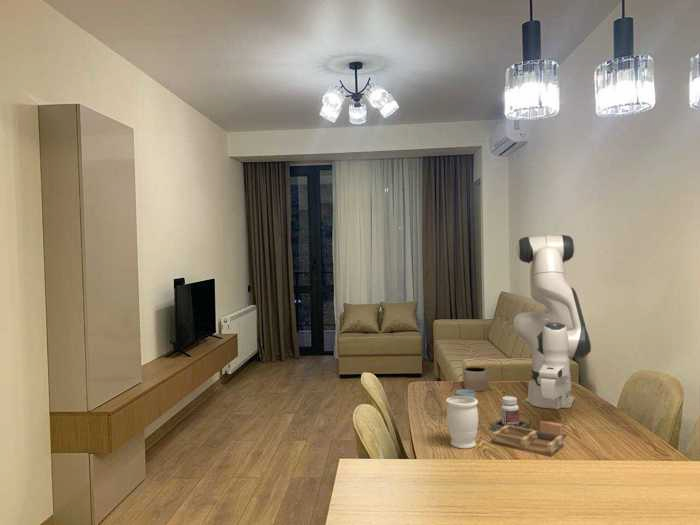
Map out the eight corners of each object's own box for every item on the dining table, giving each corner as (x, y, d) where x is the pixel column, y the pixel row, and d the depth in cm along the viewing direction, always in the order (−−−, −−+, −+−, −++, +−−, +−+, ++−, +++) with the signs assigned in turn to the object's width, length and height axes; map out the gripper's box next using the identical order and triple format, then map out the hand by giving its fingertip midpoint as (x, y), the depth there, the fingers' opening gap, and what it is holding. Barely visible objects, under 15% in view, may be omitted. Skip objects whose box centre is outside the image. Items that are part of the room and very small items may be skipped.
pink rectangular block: (542, 430, 185) (542, 420, 185) (562, 434, 180) (562, 424, 180) (540, 432, 183) (539, 422, 183) (560, 436, 178) (560, 425, 178)
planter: (484, 393, 240) (483, 372, 240) (461, 390, 246) (460, 370, 246) (490, 387, 249) (490, 367, 249) (468, 385, 255) (467, 366, 255)
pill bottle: (523, 429, 188) (522, 398, 188) (511, 433, 185) (510, 401, 185) (509, 425, 194) (508, 394, 194) (498, 428, 190) (497, 397, 190)
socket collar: (503, 422, 197) (503, 417, 197) (530, 428, 190) (530, 422, 190) (490, 430, 189) (490, 424, 189) (518, 435, 182) (518, 430, 182)
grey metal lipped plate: (540, 431, 186) (540, 423, 186) (566, 436, 180) (566, 428, 180) (529, 439, 178) (529, 431, 178) (556, 444, 172) (555, 436, 172)
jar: (444, 440, 180) (442, 396, 180) (473, 438, 181) (472, 395, 181) (452, 451, 169) (451, 405, 169) (483, 449, 170) (482, 403, 170)
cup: (471, 414, 208) (470, 388, 208) (479, 420, 200) (478, 393, 200) (453, 416, 206) (452, 390, 206) (460, 422, 199) (460, 395, 199)
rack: (505, 434, 184) (505, 424, 184) (563, 446, 171) (563, 435, 171) (491, 443, 175) (491, 432, 175) (551, 456, 162) (551, 445, 162)
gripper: (557, 364, 196) (559, 401, 196) (536, 372, 181) (538, 412, 180) (575, 365, 192) (576, 403, 192) (555, 374, 176) (556, 415, 176)
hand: (557, 408), depth 186 cm, fingers closed
